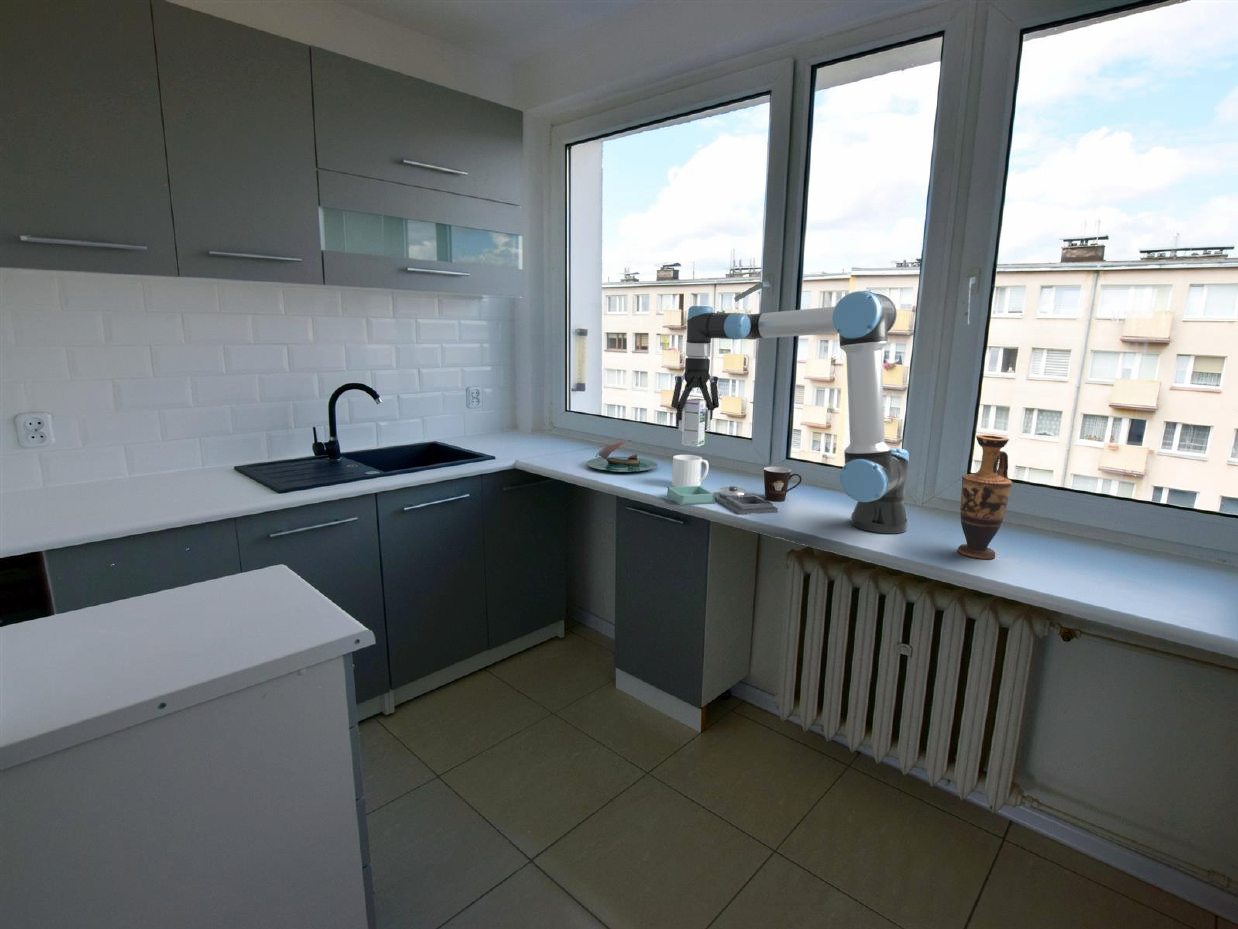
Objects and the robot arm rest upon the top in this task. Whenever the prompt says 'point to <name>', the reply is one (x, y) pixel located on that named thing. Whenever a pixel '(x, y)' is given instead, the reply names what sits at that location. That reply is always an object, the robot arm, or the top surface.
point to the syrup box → (694, 422)
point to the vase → (985, 498)
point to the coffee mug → (777, 483)
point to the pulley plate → (743, 501)
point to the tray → (691, 495)
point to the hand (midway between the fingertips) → (693, 430)
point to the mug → (687, 470)
